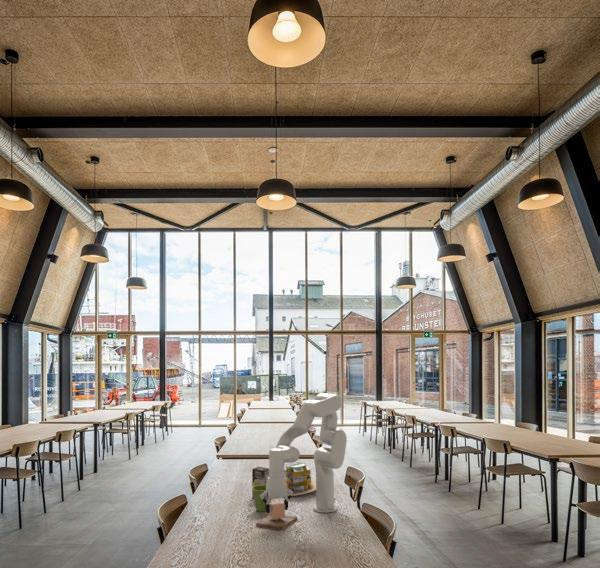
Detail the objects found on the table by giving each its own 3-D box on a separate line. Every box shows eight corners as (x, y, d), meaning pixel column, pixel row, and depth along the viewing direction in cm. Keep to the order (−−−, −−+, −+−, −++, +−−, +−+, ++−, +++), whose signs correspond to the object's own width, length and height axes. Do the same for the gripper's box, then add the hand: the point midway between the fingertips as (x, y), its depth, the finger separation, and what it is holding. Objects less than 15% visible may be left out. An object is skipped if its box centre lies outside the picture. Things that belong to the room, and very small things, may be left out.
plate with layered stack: (276, 497, 286) (276, 467, 288) (282, 485, 310) (282, 458, 313) (319, 498, 283) (318, 468, 286) (321, 486, 308) (321, 458, 310)
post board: (272, 516, 254) (272, 499, 255) (297, 520, 248) (297, 503, 249) (256, 526, 240) (256, 508, 241) (281, 530, 234) (281, 512, 235)
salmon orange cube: (269, 515, 246) (269, 502, 246) (280, 513, 248) (280, 501, 249) (273, 519, 240) (273, 506, 241) (284, 517, 243) (284, 504, 243)
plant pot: (277, 511, 261) (277, 489, 263) (255, 514, 257) (255, 491, 258) (270, 505, 272) (270, 483, 274) (249, 507, 268) (249, 485, 269)
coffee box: (251, 497, 286) (251, 468, 288) (258, 495, 291) (258, 466, 293) (264, 500, 281) (264, 470, 283) (271, 497, 286) (270, 468, 288)
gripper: (290, 470, 254) (290, 506, 251) (257, 474, 247) (257, 511, 244) (295, 474, 247) (296, 510, 244) (262, 478, 240) (262, 515, 238)
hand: (276, 510), depth 244 cm, fingers open, 9 cm apart
